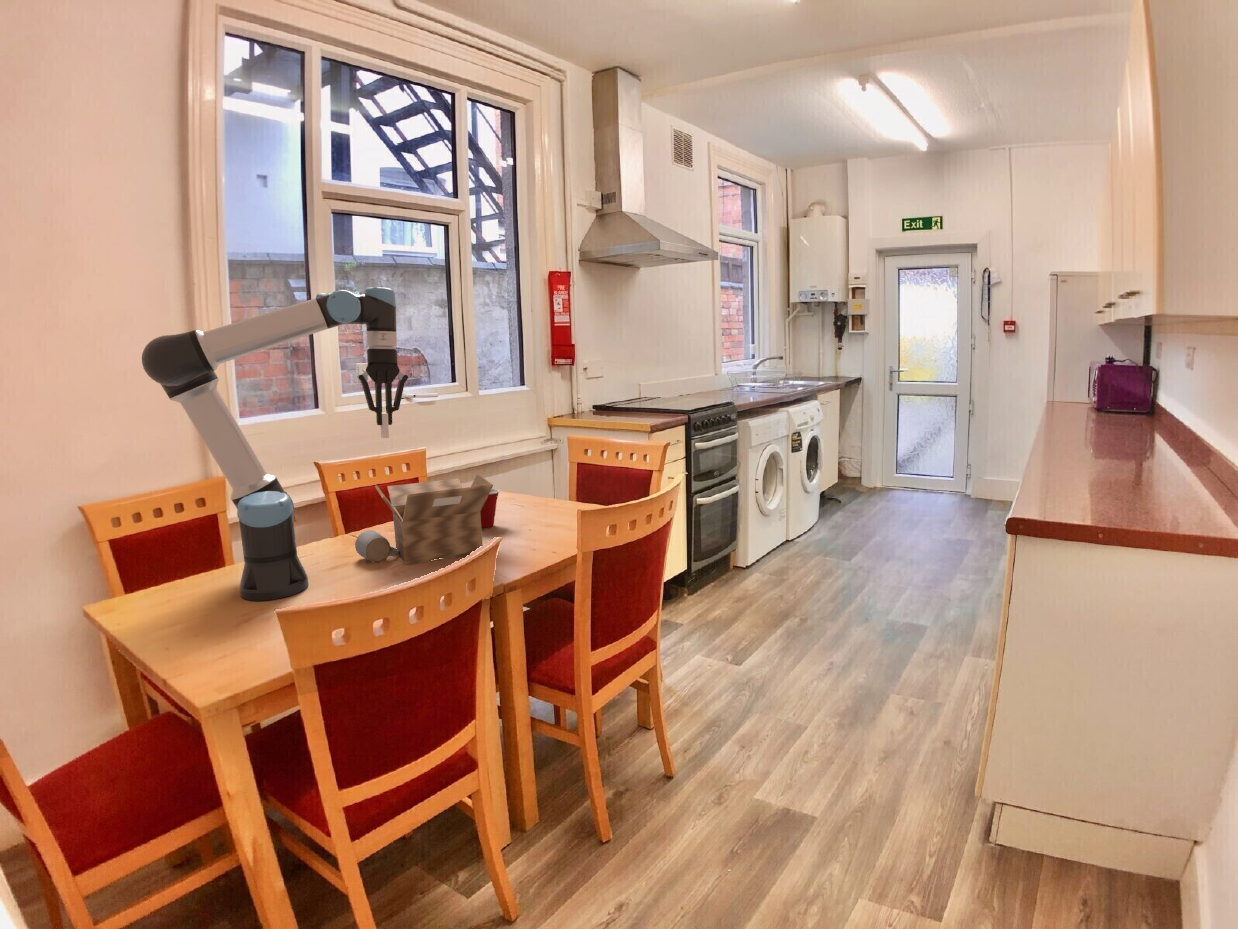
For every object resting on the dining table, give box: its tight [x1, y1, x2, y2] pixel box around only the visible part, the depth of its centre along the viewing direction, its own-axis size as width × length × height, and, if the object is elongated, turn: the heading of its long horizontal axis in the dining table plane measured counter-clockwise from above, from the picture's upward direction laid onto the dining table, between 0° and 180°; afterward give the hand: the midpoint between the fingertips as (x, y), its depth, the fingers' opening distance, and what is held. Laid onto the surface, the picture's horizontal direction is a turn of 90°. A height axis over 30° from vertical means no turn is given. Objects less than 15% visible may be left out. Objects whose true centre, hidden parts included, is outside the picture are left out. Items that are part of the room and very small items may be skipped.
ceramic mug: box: [354, 529, 400, 563], centre depth 201 cm, size 11×8×8 cm
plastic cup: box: [480, 488, 501, 530], centre depth 230 cm, size 11×11×12 cm
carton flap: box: [403, 485, 490, 522], centre depth 189 cm, size 20×17×1 cm
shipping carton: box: [374, 474, 494, 566], centre depth 209 cm, size 30×26×19 cm
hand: (384, 437), depth 196 cm, fingers closed
